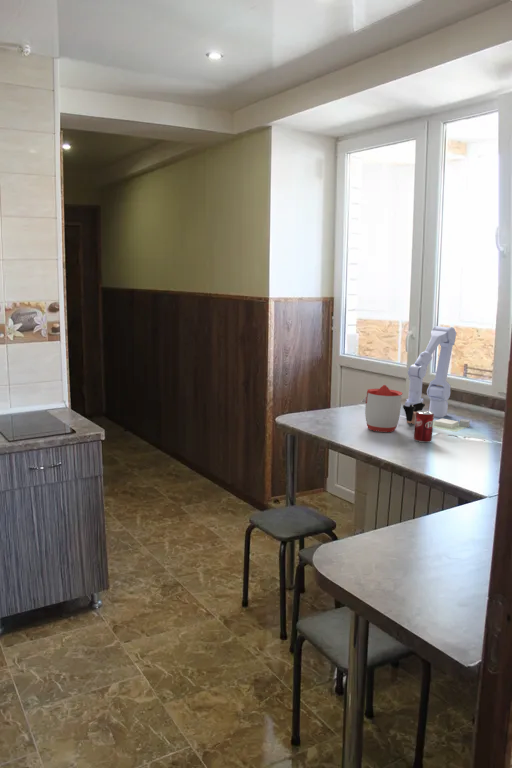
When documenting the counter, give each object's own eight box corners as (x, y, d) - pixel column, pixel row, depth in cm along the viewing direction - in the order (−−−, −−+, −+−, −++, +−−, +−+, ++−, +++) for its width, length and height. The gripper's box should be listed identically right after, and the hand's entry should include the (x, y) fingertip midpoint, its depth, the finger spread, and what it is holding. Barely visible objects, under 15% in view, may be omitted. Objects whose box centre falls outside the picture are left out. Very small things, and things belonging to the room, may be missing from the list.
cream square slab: (441, 422, 299) (442, 418, 298) (458, 425, 294) (458, 421, 293) (434, 425, 293) (434, 420, 292) (450, 428, 288) (451, 424, 287)
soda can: (432, 439, 271) (434, 411, 269) (430, 443, 264) (433, 415, 262) (414, 437, 273) (416, 409, 271) (412, 441, 266) (415, 413, 264)
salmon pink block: (410, 421, 303) (411, 411, 302) (418, 422, 301) (419, 412, 300) (406, 422, 300) (407, 412, 299) (414, 424, 298) (415, 413, 297)
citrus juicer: (360, 423, 294) (363, 380, 290) (399, 427, 291) (402, 383, 287) (358, 431, 279) (361, 386, 275) (399, 435, 276) (403, 389, 272)
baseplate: (436, 421, 304) (437, 419, 304) (470, 428, 294) (470, 425, 294) (421, 427, 292) (421, 425, 292) (455, 434, 282) (455, 431, 282)
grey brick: (460, 424, 297) (460, 419, 296) (469, 425, 295) (470, 420, 294) (459, 426, 293) (459, 420, 292) (468, 427, 291) (468, 421, 291)
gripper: (414, 387, 306) (412, 415, 308) (399, 391, 295) (397, 420, 297) (428, 390, 301) (425, 418, 304) (414, 393, 290) (411, 423, 293)
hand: (412, 419), depth 300 cm, fingers open, 7 cm apart
